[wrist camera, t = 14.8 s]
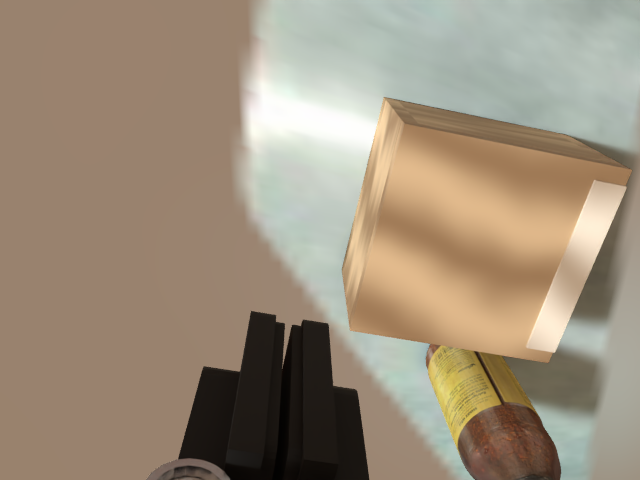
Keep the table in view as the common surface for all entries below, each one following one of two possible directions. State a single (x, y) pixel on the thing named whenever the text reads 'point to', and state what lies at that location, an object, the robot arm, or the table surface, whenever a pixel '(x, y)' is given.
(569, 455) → the table surface
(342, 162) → the table surface
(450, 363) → the sauce bottle
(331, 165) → the table surface
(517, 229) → the lid
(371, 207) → the box
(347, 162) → the table surface
